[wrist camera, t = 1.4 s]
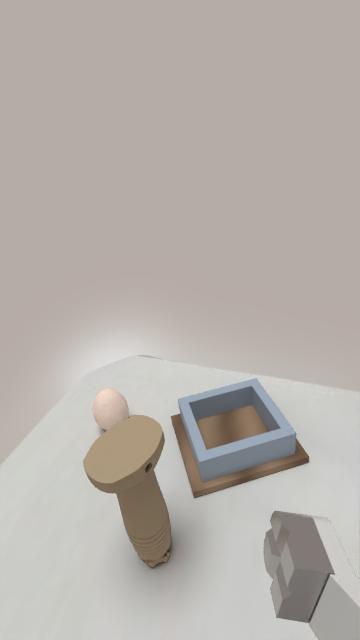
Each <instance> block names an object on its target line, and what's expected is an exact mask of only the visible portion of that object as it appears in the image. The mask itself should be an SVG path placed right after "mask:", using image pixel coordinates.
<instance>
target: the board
mask: <svg viewBox="0 0 360 640" xmlns="http://www.w3.org/2000/svg"><path fill="white" fill-rule="evenodd" d="M171 419H172V423H173V427H174V430H175V433H176V437H177V440H178V444H179V447H180V451H181V454H182V457H183V461H184V464H185V468H186V471H187V475H188V478H189V481H190V485H191V488H192V492H193V495H194V498H196V497H199V496H202V495H205V494H209V493H212V492H215V491H218V490H221V489H225V488H228V487H231V486H234V485H237V484H241V483H244V482H247V481H250V480H253V479H257V478H260V477H263V476H266V475H269V474H273V473H276V472H279V471H282V470H285V469H289V468H292V467H295V466H298V465H301V464H305V463H308V462H309V456H308V454H307V453H306V452H305V450H304V449H303V447H302V446H301V445H300V443H299V442H298V440H297V439H296V446H295V454H294V455H291V456H288V457H284V458H281V459H278V460H275V461H271V462H268V463H265V464H261V465H258V466H255V467H252V468H248V469H245V470H242V471H239V472H235V473H232V474H229V475H226V476H222V477H219V478H216V479H213V480H209V481H206V482H203V483H202V479H201V476H200V473H199V470H198V467H197V464H196V461H195V458H194V455H193V452H192V449H191V446H190V443H189V440H188V437H187V434H186V431H185V428H184V425H183V422H182V419H181V414H178V415H174V416H171ZM196 423H197V426H198V429H199V431H200V434H201V437H202V439H203V442H204V444H205V447H206V450H209V449H212V448H215V447H219V446H222V445H226V444H229V443H232V442H236V441H239V440H243V439H246V438H250V437H253V436H256V435H260V434H263V433H267V432H269V430H268V428H267V427H266V425H265V424H264V422H263V421H262V419H261V417H260V416H259V414H258V413H257V411H256V410H255V408H254V406H253V405H250V406H246V407H243V408H239V409H236V410H232V411H228V412H225V413H221V414H218V415H214V416H210V417H207V418H203V419H200V420H196Z"/></svg>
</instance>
